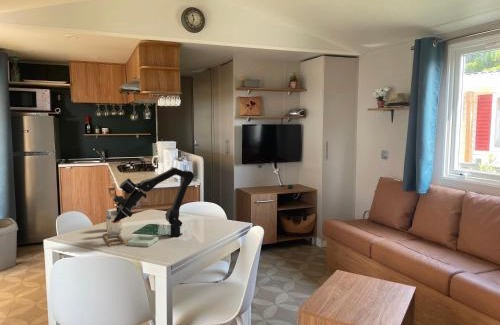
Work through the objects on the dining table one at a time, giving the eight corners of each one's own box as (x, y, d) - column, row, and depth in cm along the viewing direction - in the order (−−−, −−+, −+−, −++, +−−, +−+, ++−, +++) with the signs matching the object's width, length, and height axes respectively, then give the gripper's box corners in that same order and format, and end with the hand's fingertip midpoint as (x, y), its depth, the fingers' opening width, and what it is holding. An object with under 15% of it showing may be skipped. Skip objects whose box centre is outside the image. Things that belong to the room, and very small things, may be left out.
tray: (138, 239, 217) (138, 235, 217) (158, 240, 215) (158, 237, 215) (127, 245, 206) (127, 241, 206) (148, 247, 203) (148, 243, 203)
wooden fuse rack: (102, 235, 225) (102, 233, 225) (121, 233, 230) (121, 231, 230) (109, 246, 204) (109, 244, 204) (129, 243, 209) (129, 241, 209)
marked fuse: (114, 232, 212) (113, 210, 211) (122, 232, 211) (121, 211, 210) (109, 234, 207) (108, 212, 206) (117, 235, 206) (116, 213, 205)
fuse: (110, 234, 226) (109, 214, 225) (117, 235, 225) (117, 215, 224) (105, 237, 222) (104, 216, 221) (112, 237, 221) (112, 217, 220)
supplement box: (118, 228, 242) (118, 207, 241) (122, 229, 239) (121, 208, 237) (106, 230, 236) (105, 209, 235) (109, 231, 233) (108, 210, 232)
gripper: (119, 187, 217) (99, 208, 213) (125, 192, 201) (103, 215, 196) (133, 199, 221) (114, 220, 217) (141, 205, 205) (120, 228, 201)
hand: (112, 221), depth 208 cm, fingers closed on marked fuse, 4 cm apart
